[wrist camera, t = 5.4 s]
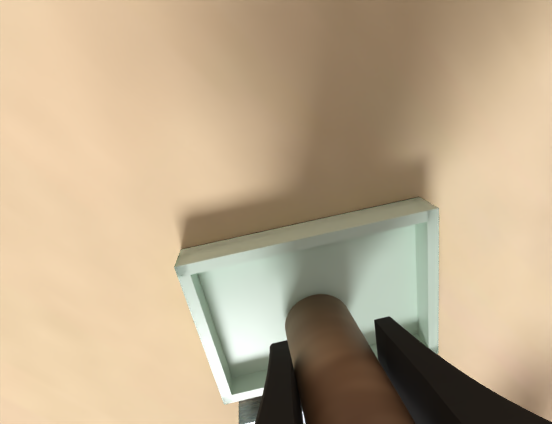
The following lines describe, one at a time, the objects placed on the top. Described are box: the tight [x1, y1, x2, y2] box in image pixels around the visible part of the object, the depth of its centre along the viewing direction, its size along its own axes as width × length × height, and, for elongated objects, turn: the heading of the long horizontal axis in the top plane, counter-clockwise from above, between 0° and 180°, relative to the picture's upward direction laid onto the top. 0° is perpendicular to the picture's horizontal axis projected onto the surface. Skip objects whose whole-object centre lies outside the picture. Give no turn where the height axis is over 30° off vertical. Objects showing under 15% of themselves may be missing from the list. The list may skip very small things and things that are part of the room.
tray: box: [174, 197, 439, 404], centre depth 15 cm, size 11×8×2 cm
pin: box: [285, 294, 416, 424], centre depth 11 cm, size 4×4×9 cm
